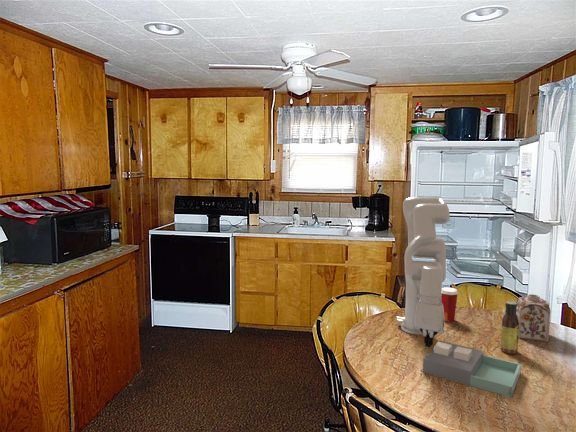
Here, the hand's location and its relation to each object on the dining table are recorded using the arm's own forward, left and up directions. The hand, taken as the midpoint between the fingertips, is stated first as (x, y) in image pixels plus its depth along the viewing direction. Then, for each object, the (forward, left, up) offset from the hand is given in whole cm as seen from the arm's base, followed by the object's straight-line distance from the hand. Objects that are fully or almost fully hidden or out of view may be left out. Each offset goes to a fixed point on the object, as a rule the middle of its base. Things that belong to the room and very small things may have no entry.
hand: (428, 346), depth 161 cm
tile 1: (+5, 0, -1) cm, 5 cm away
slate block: (+9, 0, -6) cm, 11 cm away
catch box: (+24, 0, -6) cm, 24 cm away
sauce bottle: (+23, +28, -6) cm, 37 cm away
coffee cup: (-7, +50, -6) cm, 51 cm away
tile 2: (+12, 0, -1) cm, 12 cm away
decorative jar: (+28, +52, -6) cm, 60 cm away
